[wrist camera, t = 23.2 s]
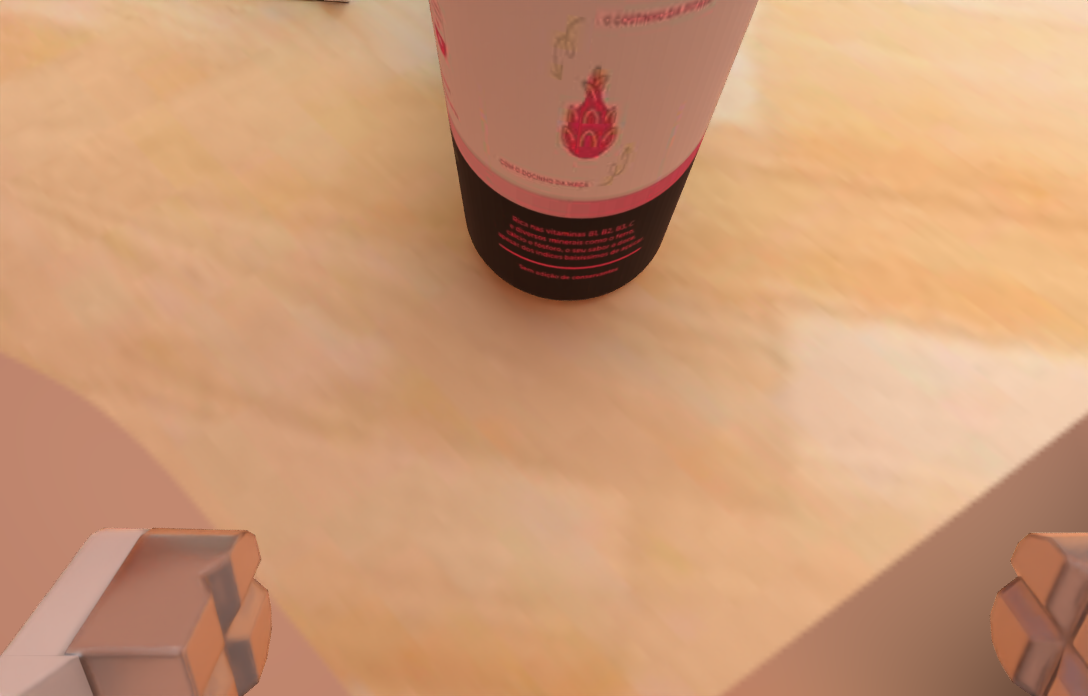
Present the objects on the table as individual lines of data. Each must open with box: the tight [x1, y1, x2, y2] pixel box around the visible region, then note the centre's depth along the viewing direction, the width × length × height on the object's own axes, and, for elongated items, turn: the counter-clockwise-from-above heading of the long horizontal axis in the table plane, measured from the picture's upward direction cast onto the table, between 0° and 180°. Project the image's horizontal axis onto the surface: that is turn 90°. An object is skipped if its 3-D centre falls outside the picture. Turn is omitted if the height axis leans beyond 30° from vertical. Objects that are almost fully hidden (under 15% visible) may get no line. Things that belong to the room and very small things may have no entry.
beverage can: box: [429, 0, 758, 301], centre depth 18 cm, size 7×6×15 cm
